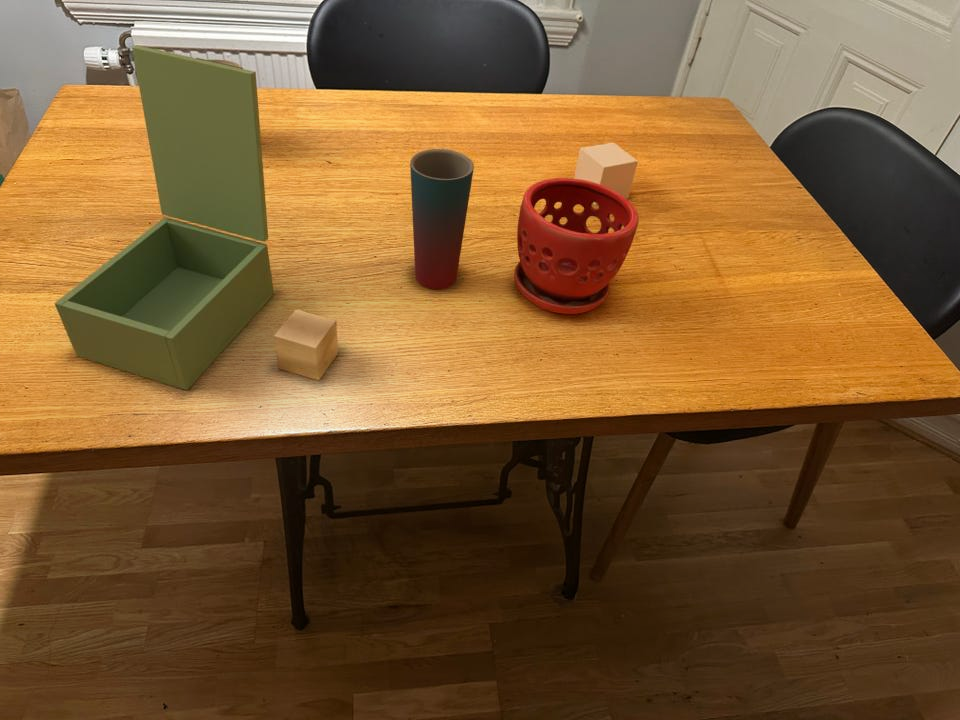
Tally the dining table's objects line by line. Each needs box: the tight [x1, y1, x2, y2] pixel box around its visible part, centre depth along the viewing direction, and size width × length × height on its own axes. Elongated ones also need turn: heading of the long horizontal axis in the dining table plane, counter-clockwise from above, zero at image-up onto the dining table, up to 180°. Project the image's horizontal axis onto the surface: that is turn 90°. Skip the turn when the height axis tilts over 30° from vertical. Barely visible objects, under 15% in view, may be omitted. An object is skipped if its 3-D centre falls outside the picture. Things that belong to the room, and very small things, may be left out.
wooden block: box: [273, 309, 339, 381], centre depth 71 cm, size 4×4×4 cm
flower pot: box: [513, 177, 640, 315], centre depth 81 cm, size 13×13×12 cm
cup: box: [409, 148, 475, 290], centre depth 79 cm, size 7×7×15 cm
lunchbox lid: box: [131, 44, 269, 243], centre depth 72 cm, size 17×13×5 cm
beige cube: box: [573, 142, 639, 206], centre depth 101 cm, size 6×6×6 cm
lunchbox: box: [54, 216, 275, 391], centre depth 72 cm, size 17×13×7 cm
